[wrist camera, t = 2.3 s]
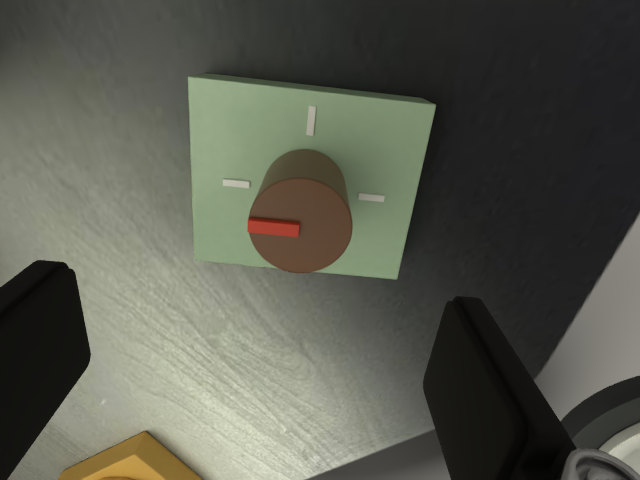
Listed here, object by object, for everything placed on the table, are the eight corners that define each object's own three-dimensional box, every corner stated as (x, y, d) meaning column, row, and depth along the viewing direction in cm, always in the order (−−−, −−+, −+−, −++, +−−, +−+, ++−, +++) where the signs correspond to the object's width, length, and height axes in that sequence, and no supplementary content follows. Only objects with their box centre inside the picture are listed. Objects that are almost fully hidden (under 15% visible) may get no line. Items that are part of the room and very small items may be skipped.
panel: (422, 97, 22) (437, 105, 19) (389, 256, 26) (397, 281, 23) (204, 72, 21) (186, 76, 18) (207, 238, 26) (193, 262, 23)
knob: (351, 153, 20) (360, 186, 15) (340, 231, 22) (345, 281, 17) (265, 144, 20) (247, 174, 15) (261, 223, 22) (244, 272, 17)
